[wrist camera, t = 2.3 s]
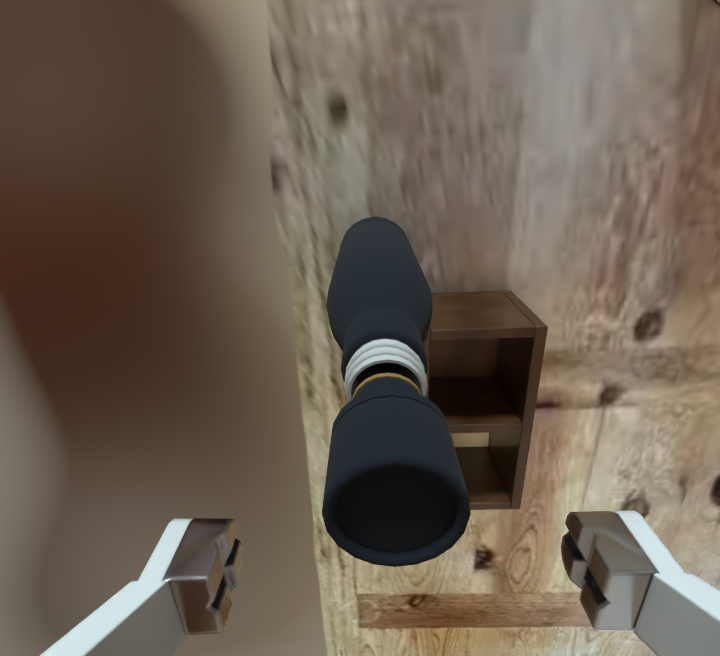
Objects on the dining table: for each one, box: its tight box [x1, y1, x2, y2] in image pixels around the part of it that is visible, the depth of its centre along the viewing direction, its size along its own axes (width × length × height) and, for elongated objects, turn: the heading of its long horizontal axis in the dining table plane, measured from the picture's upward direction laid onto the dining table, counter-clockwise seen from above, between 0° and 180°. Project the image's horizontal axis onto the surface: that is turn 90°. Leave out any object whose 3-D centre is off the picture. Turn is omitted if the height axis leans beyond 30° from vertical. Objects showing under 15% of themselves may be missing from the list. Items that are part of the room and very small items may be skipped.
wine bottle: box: [322, 217, 470, 567], centre depth 24 cm, size 6×6×30 cm
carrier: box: [423, 291, 548, 510], centre depth 39 cm, size 10×19×9 cm, turn 2°
